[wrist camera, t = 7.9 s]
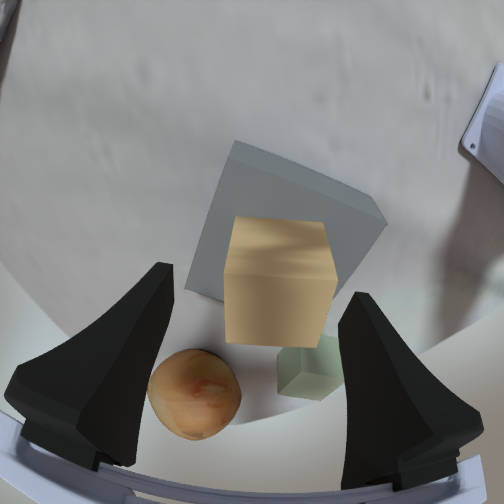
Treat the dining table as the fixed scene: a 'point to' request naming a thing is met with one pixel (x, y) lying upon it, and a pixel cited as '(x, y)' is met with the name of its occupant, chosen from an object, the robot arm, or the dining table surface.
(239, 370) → the dining table surface
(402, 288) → the dining table surface
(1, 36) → the stone block
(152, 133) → the dining table surface
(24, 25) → the dining table surface
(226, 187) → the slate block
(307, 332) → the oak cube
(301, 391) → the sage cube
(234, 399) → the onion
